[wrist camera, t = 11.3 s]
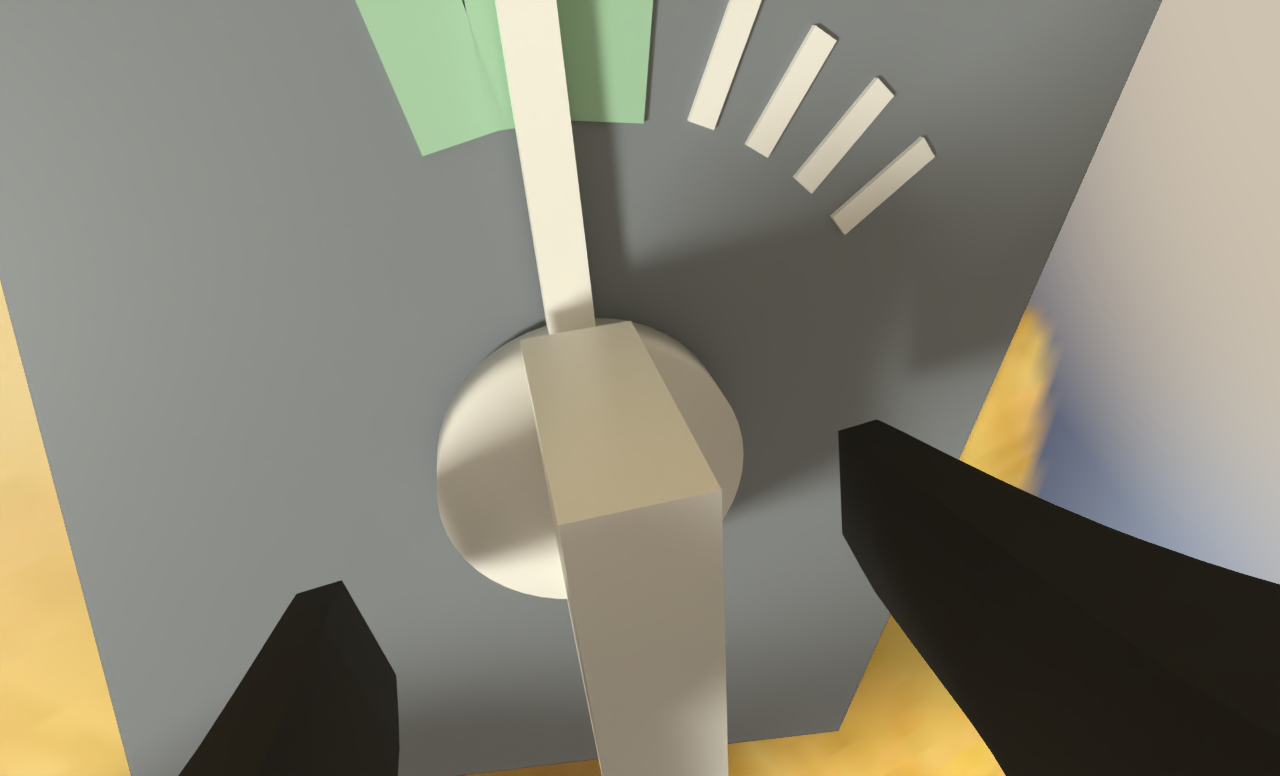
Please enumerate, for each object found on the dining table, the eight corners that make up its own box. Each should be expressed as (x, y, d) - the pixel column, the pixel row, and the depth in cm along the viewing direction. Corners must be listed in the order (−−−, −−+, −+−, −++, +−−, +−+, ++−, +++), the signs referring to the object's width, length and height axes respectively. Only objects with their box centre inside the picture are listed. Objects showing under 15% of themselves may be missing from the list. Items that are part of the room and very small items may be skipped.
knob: (725, 539, 14) (844, 775, 10) (473, 597, 14) (487, 879, 9) (713, -122, 9) (962, -209, 5) (281, -91, 8) (100, -160, 4)
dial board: (818, 692, 20) (840, 733, 19) (160, 758, 16) (138, 817, 14) (1123, -54, 12) (1193, -57, 11) (-100, -374, 7) (-196, -436, 6)
